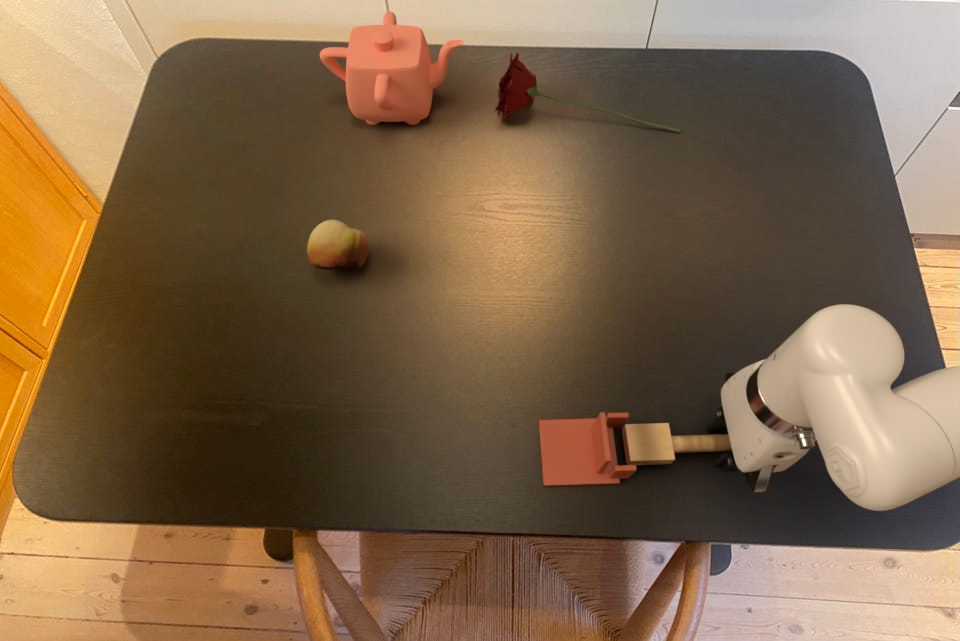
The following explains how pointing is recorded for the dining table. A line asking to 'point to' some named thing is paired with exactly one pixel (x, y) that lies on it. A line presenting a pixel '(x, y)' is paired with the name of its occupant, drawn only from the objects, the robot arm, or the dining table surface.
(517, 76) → the flower
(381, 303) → the dining table surface
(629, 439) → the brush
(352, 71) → the teapot
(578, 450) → the brush stand
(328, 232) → the fruit
